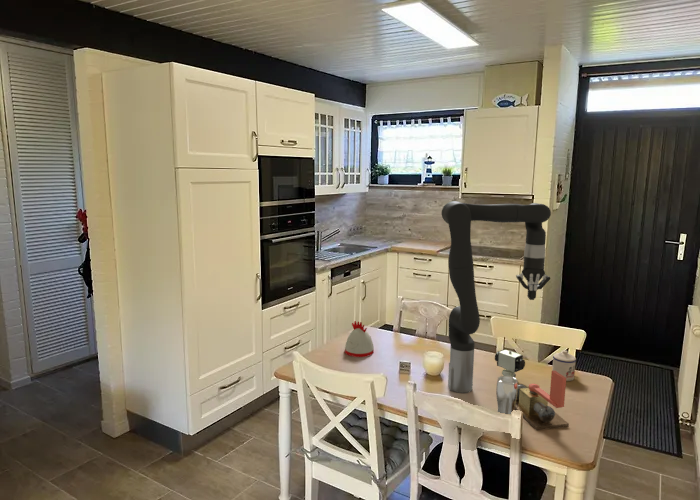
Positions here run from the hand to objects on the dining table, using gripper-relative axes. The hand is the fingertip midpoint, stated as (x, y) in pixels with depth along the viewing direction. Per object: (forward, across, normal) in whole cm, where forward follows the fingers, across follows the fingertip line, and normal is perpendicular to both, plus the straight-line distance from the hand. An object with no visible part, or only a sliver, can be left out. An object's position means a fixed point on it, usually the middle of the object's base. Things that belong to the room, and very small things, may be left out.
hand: (531, 299), depth 187 cm
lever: (+28, -1, -27) cm, 39 cm away
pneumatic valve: (+37, -4, +10) cm, 39 cm away
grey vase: (+37, -14, -26) cm, 47 cm away
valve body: (+37, -3, -20) cm, 42 cm away
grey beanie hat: (+37, -69, +34) cm, 85 cm away
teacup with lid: (+37, +20, +14) cm, 44 cm away
